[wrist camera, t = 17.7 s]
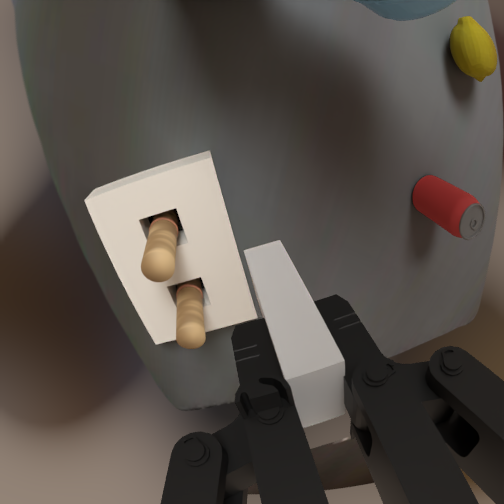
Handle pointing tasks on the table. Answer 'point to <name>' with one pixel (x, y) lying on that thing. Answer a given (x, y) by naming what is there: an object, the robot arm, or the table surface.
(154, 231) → the seated peg
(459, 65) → the lemon
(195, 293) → the honey-oak peg
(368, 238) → the table surface
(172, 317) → the off-white board
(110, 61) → the table surface
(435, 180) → the beer can
